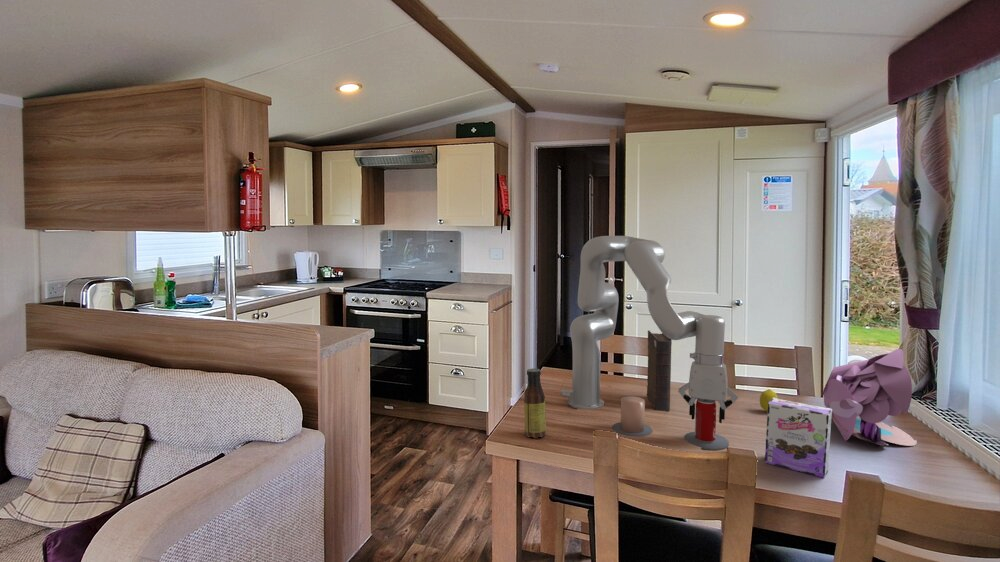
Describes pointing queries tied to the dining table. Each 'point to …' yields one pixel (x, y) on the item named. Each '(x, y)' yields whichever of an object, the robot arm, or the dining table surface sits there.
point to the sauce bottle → (534, 405)
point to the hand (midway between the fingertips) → (706, 419)
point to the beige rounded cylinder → (632, 414)
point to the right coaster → (715, 445)
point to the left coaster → (646, 432)
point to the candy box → (798, 436)
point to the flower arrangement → (870, 398)
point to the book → (659, 371)
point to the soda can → (705, 420)
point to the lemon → (767, 398)
